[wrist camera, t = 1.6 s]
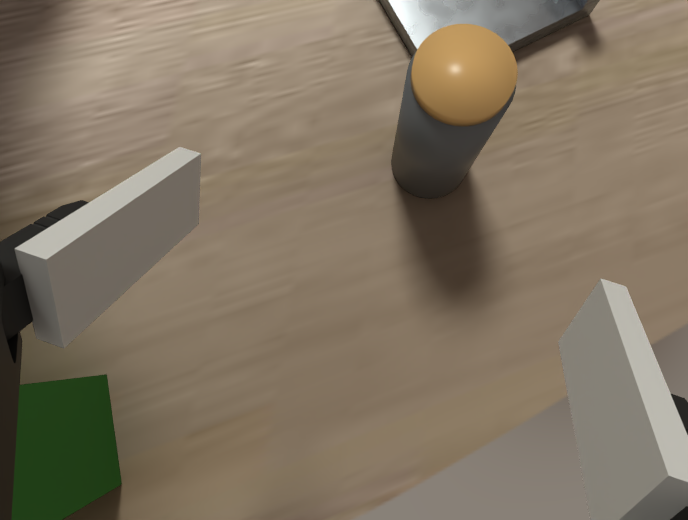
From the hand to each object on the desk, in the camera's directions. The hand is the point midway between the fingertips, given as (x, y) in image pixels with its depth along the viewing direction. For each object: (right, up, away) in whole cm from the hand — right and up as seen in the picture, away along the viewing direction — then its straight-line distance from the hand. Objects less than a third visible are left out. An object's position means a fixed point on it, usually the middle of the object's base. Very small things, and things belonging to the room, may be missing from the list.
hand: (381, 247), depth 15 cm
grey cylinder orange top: (+5, +7, +20) cm, 22 cm away
